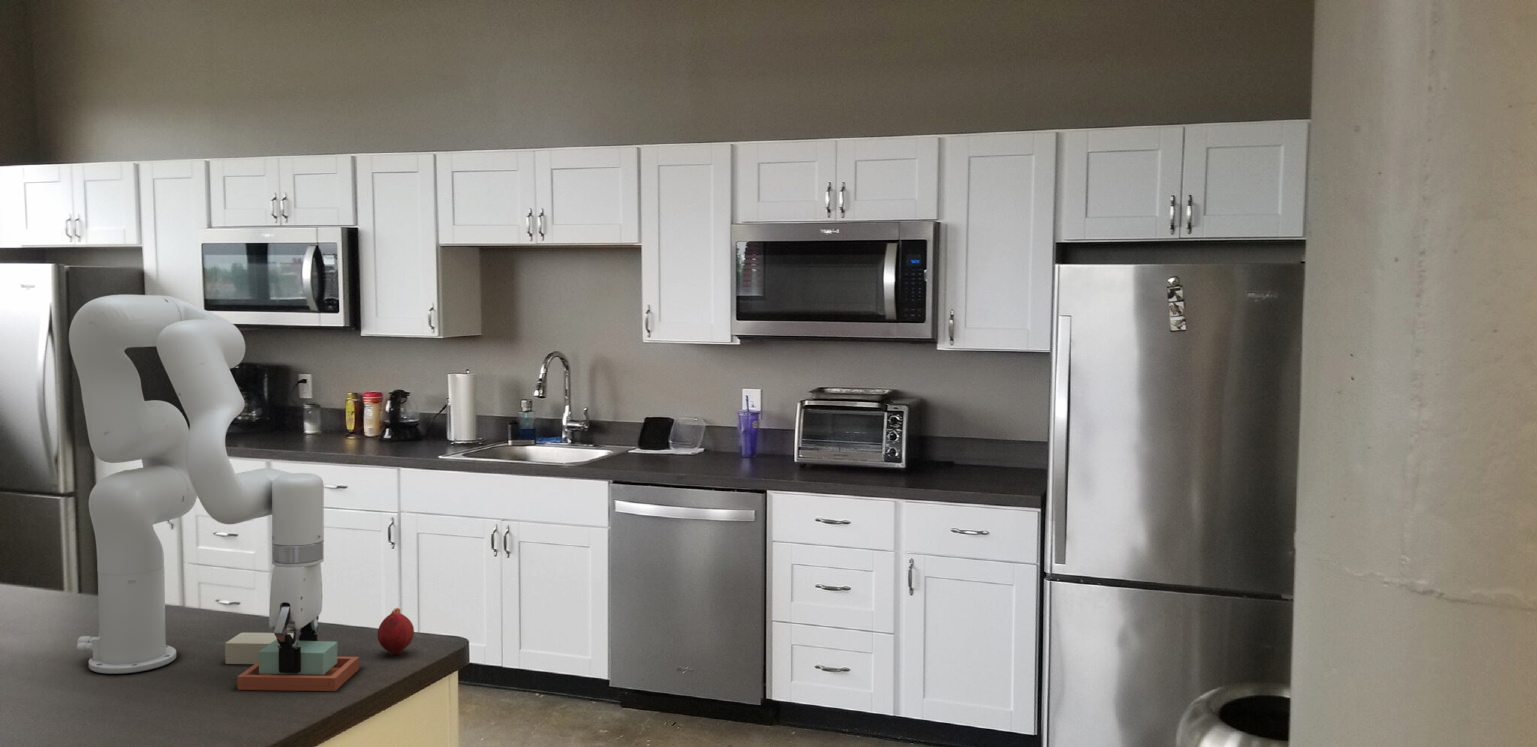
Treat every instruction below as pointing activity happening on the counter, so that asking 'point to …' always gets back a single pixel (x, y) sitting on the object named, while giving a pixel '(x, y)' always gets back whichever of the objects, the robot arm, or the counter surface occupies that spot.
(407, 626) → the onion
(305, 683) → the holder
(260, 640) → the pad top
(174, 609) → the counter surface
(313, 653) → the pad base
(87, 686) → the counter surface
